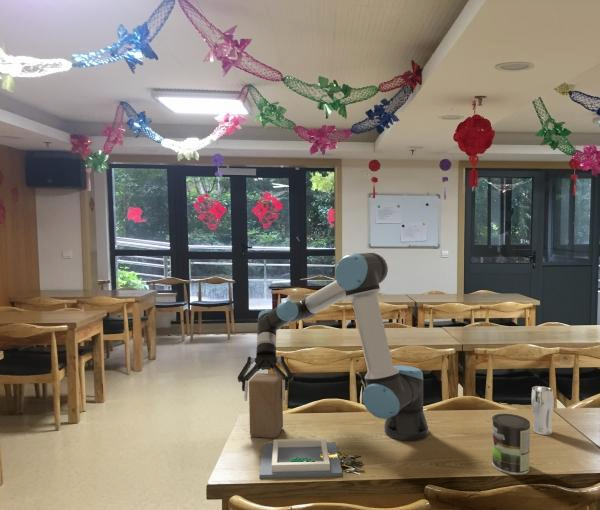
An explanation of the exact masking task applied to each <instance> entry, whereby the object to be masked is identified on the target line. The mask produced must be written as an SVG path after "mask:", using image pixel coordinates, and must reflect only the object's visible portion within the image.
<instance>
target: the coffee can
mask: <svg viewBox="0 0 600 510" xmlns="http://www.w3.org/2000/svg"><path fill="white" fill-rule="evenodd" d="M491 419H492V457H491V458H492V462H491V464H492V466H493V467H494V468H495V469H497V470H498V471H500V472H502V473H505V474H508V475H514V476H523V475H526V474H527V473H529V472H530V445H531V444H530V441H531V440H530V438H531V437H530V433H531V432H530V431H531V422H530V421H529V419H527V418H526V417H524V416H521V415H519V414H518V415H517V414H513V413H498V414H495V415H493V416H492V417H491Z"/></svg>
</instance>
